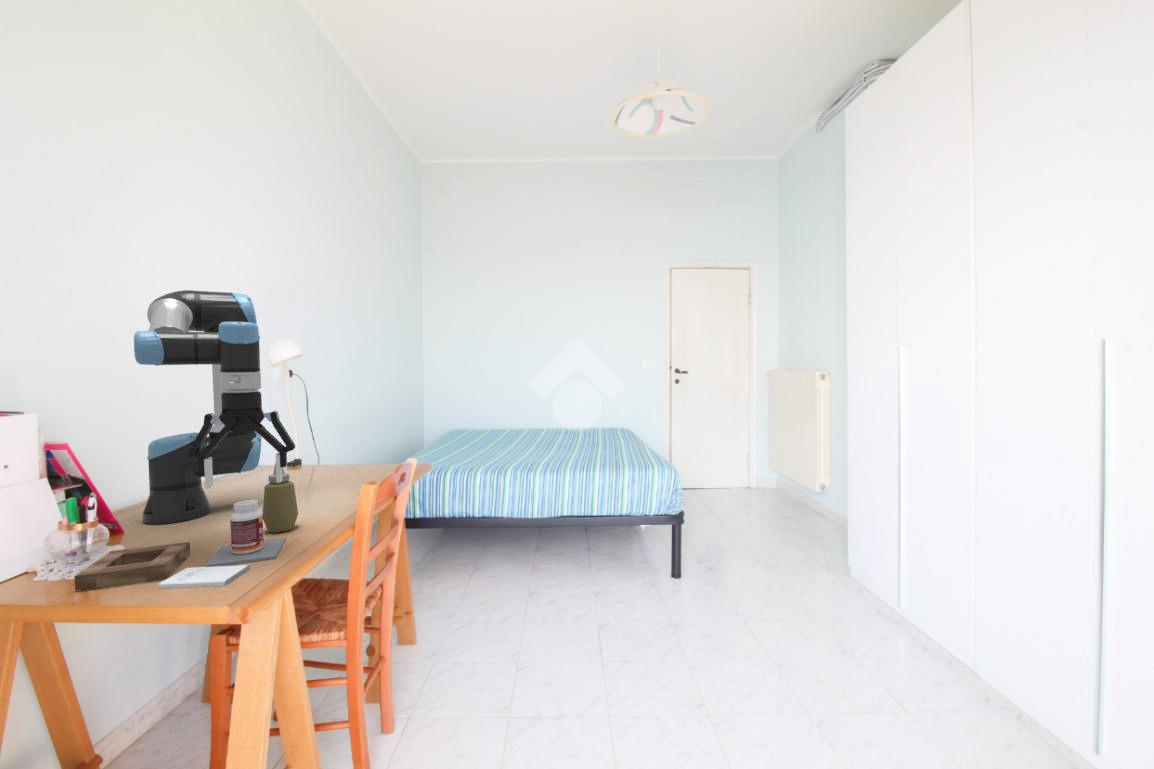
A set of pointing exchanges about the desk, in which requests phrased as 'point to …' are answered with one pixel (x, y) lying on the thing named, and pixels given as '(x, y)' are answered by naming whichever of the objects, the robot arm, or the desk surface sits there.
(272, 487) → the squeeze bottle
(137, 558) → the walnut frame
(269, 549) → the grey mat
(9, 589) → the desk surface
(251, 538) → the pill bottle
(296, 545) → the desk surface
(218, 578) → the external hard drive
